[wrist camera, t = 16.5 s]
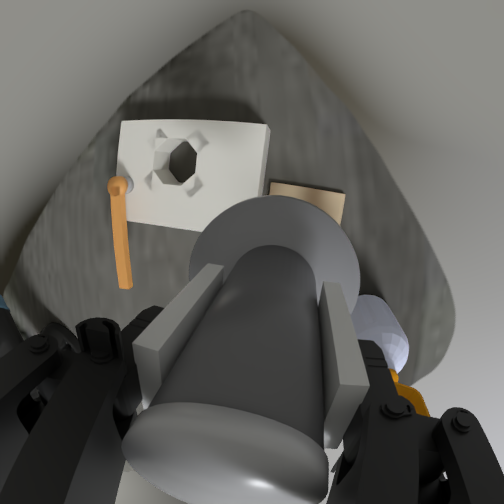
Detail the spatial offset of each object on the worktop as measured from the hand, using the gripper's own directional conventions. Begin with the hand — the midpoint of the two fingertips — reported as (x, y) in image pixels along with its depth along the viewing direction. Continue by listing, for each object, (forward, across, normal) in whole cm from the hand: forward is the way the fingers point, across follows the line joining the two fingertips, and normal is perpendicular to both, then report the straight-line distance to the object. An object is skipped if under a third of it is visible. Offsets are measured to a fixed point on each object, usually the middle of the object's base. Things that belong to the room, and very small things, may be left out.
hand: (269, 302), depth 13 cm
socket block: (+27, -14, +4) cm, 31 cm away
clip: (+20, -21, -4) cm, 30 cm away
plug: (+8, 0, 0) cm, 8 cm away
